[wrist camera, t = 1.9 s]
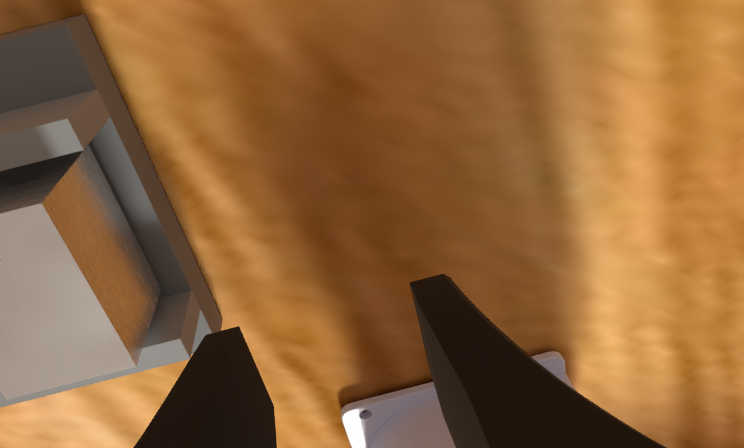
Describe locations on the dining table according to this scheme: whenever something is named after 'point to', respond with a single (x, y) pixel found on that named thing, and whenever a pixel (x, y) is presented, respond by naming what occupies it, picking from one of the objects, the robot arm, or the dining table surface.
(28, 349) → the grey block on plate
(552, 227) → the dining table surface
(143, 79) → the dining table surface
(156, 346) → the gauge base
